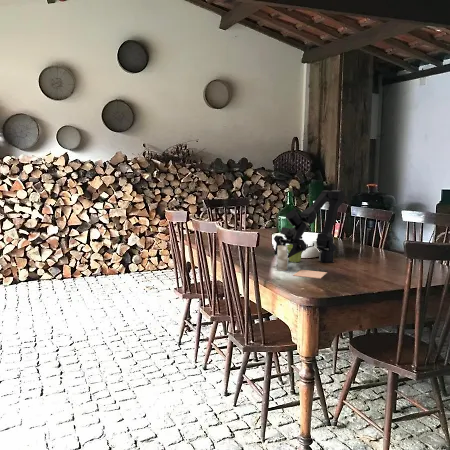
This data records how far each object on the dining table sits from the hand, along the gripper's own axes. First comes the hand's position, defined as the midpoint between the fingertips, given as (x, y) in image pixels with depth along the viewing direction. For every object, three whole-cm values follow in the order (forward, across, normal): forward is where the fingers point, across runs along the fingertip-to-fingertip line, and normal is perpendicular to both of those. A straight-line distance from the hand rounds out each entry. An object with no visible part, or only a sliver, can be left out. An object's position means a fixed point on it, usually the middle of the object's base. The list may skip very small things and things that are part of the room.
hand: (281, 255), depth 241 cm
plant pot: (-10, -11, +20) cm, 25 cm away
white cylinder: (+4, 0, +6) cm, 7 cm away
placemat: (+2, +15, +8) cm, 17 cm away
